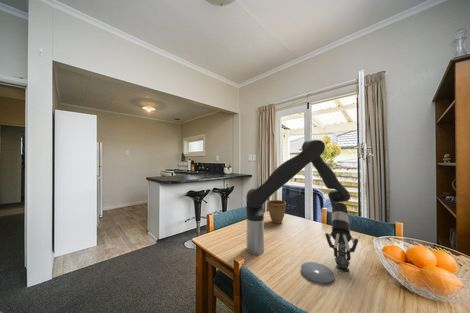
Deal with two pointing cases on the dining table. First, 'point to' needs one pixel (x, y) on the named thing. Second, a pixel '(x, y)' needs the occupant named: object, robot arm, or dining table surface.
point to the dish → (317, 273)
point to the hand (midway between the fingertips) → (342, 259)
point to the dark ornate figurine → (342, 259)
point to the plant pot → (276, 210)
